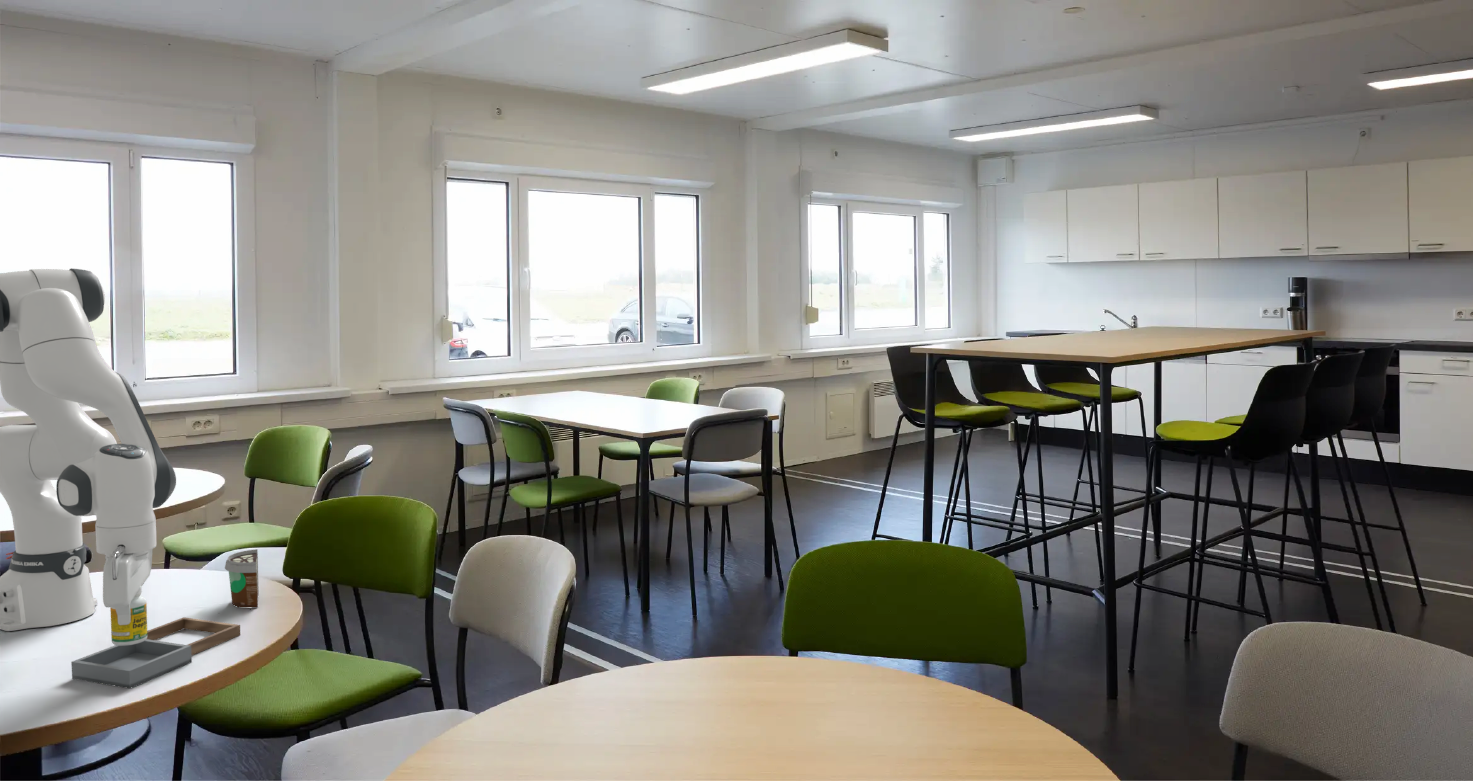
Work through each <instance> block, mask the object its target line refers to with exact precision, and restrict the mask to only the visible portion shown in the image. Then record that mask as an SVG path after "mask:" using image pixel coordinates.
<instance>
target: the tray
mask: <svg viewBox="0 0 1473 781" xmlns="http://www.w3.org/2000/svg"><path fill="white" fill-rule="evenodd" d="M192 656H193V655H192V654H191V646H190V645H188V644H183V643H182V644H181V643H174V642H168V641H162V640H149V639H146V640H145V641H143V642H141V643H137V644H133V645H125V646H118V645H112V646H110V647H107V648H105V649H102V650H99V651H96V652H94V653H91V654H88V655H86V656H83V657H80V658H78V659H75V660H72V661H71V680H77V681H82V682H89V683H94V682H95V683H94V684H100V683H103V684H102V685H106V684H107V686H112V685H115V686H114V687H118V686H119V687H120V688H124V687H127V688H126V689H132V688H135V687H137V686H139V685H141V683H142V684H144V683H147V682H148V681H151V680H154V679H155V678H159V677H160V676H162V675H164V674H167V673H170V672H172V671H174V670H176V669H178V668H181V667H183V666H185V665H188V664H191V663H192V662H193V661H192V660H193V659H192ZM136 685H137V686H136ZM134 686H135V687H134ZM131 687H132V688H131Z"/></svg>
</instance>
